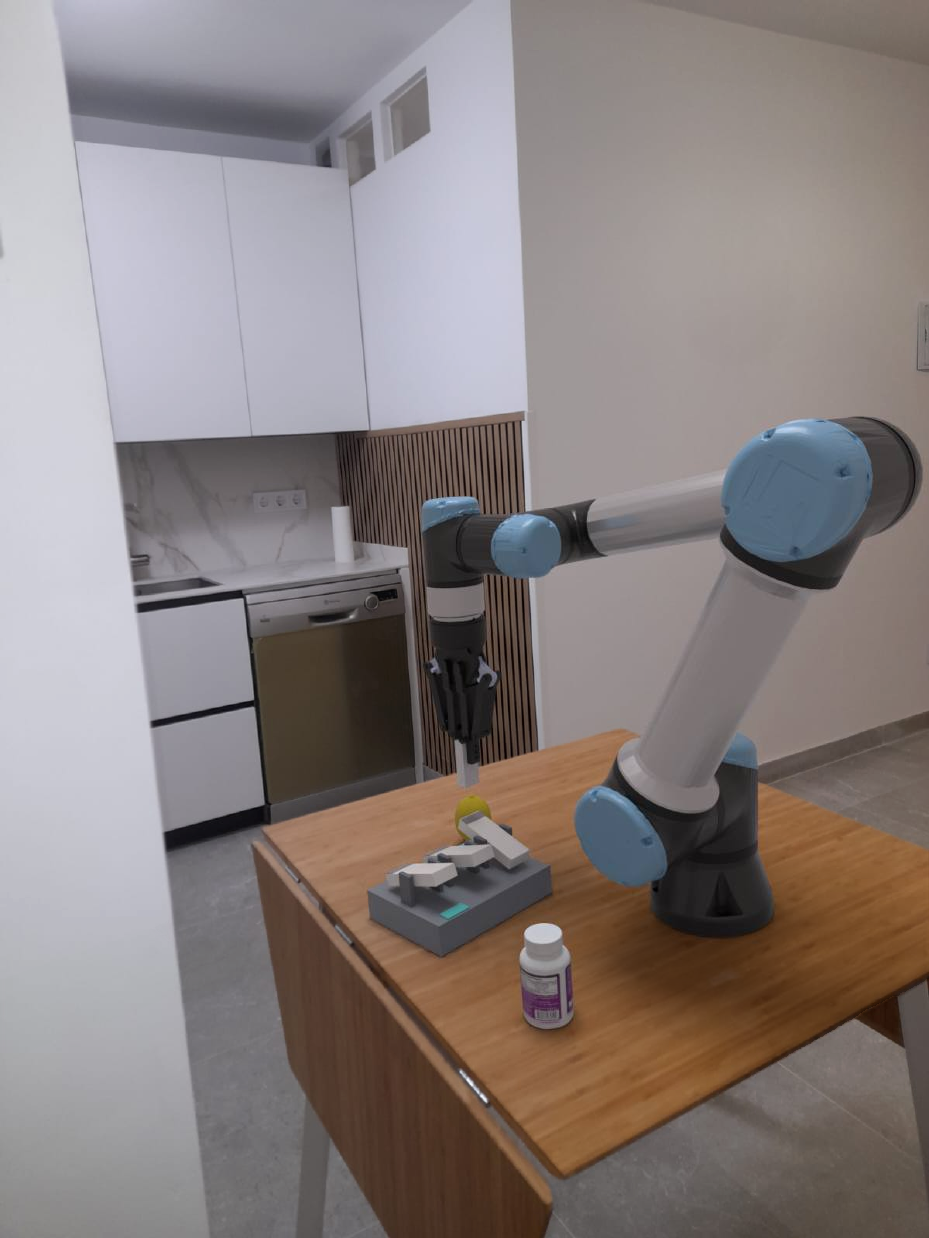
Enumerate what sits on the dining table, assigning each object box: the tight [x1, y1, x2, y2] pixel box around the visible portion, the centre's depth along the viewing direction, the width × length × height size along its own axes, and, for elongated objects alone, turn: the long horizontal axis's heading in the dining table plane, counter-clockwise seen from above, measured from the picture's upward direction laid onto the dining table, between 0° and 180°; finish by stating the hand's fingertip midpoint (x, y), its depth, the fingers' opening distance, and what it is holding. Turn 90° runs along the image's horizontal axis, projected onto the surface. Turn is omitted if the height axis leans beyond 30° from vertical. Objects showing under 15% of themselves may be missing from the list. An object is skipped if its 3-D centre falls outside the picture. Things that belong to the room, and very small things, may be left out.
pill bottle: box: [518, 922, 575, 1030], centre depth 95 cm, size 5×5×10 cm
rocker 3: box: [458, 811, 531, 869], centre depth 123 cm, size 10×4×2 cm, turn 44°
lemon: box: [454, 793, 493, 841], centre depth 137 cm, size 6×6×8 cm
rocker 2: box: [423, 844, 495, 867], centre depth 119 cm, size 10×4×2 cm, turn 43°
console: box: [366, 823, 553, 958], centre depth 119 cm, size 14×20×8 cm
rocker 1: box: [385, 862, 458, 887], centre depth 115 cm, size 10×4×2 cm, turn 43°
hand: (468, 783), depth 124 cm, fingers closed
